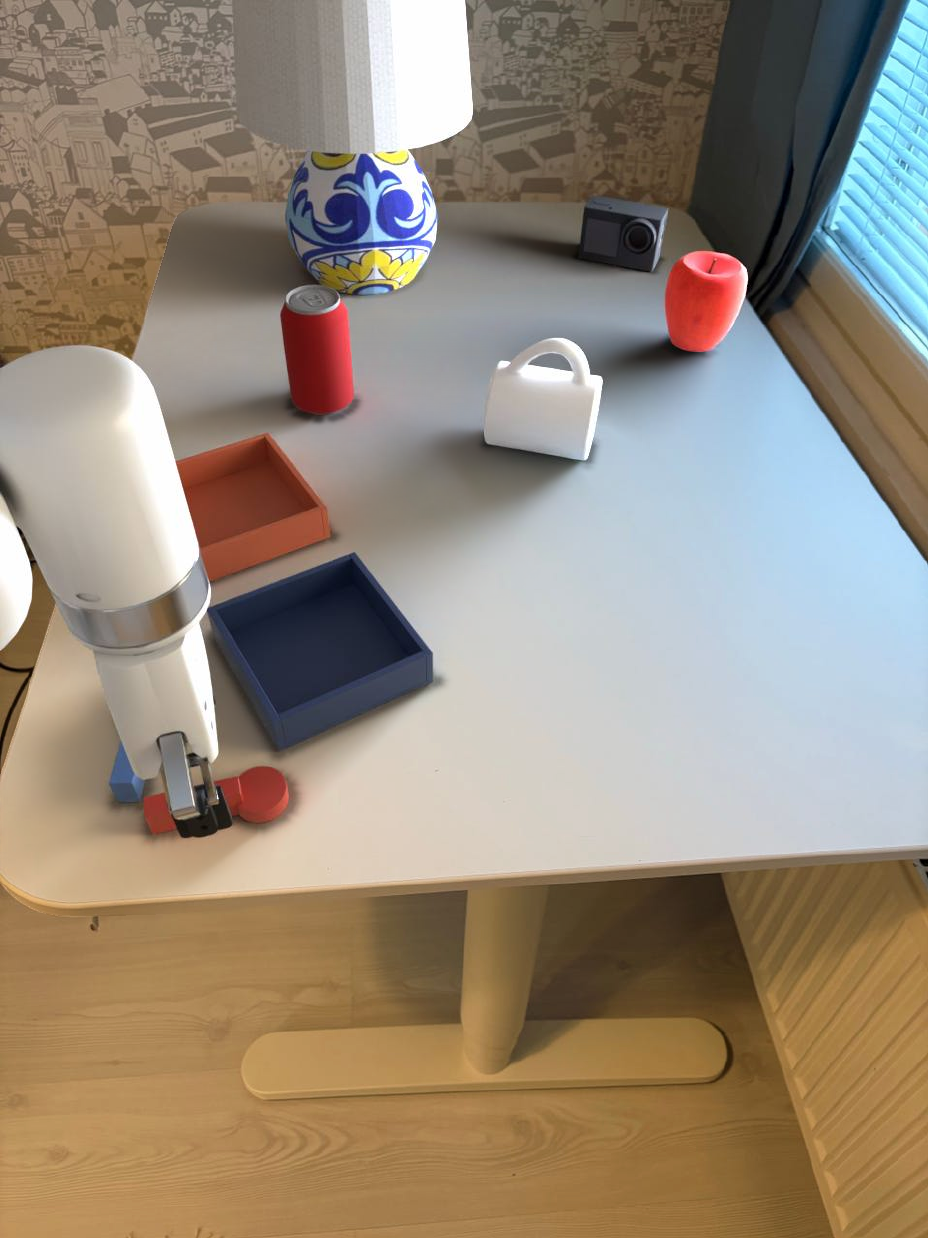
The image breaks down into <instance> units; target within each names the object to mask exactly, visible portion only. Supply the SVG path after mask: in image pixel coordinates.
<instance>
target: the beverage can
mask: <svg viewBox="0 0 928 1238" xmlns="http://www.w3.org/2000/svg"><path fill="white" fill-rule="evenodd" d="M340 296H341V295H340V294H339V292H338V291H336V290H334V289H332V288H330V287H327V286H323V285H322V284H306V285H301V286H298V287H295V288H293V289H291V290H290V291H288V293H286V295H285V298H284V302H283V306H282V308H281V309H280V314H279V315H280V316H279V317H280V327H281V333H282V342H283V349H284V357H285V364H286V371H287V378H288V385H289V391H290V399H291V401H292V403H293V404H294V406H295V407H296V408H298V409H299V410H301V411H303V412H306V413H310V414H312V415H317V416H319V415H320V416H322V415H323V416H324V415H330V414H331V415H332V414H335V413H337V412H339V411H342V410H343V409H344V408H346V407H347V406H349V405H350V404H351V403H352V401H353V399H354V396H355V393H354V392H355V390H354V375H353V360H352V359H353V358H352V346H351V345H352V344H351V334H350V322H349V321H350V320H349V311H348V308H347V307H346V305H345V304H344V302H343V301H342V299H341V297H340Z"/></svg>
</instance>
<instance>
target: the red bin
mask: <svg viewBox="0 0 928 1238" xmlns="http://www.w3.org/2000/svg"><path fill="white" fill-rule="evenodd" d="M175 463H176V466H177V470H178V473H179V477H180V481H181V484H182V488H183V491H184V495H185V498H186V502H187V506H188V509H189V513H190V516H191V520H192V523H193V527H194V530H195V534H196V538H197V541H198V544H199V548H200V551H201V555H202V558H203V562H204V565H205V569H206V573H207V576H208V580H209V583H211V582H213V581H216V580H219V579H221V578H224V577H226V576H229V575H231V574H234V573H237V572H241V571H242V570H245V569H248V568H251V567H254V566H256V565H259V564H261V563H265V562H267V561H270V560H272V559H275V558H278V557H280V556H283V555H287V554H289V553H292V552H294V551H297V550H299V549H302V548H305V547H307V546H311V545H313V544H316V543H318V542H322V541H324V540H326V539H329V538H331V529H330V521H329V512H328V510H329V509H328V506H326V505H325V503H324V502H323V501H322V500H321V498H320V497H319V496H318V494H317V493H316V492H315V491H314V489H313V488H312V487H311V485H310V484H309V482H308V481H307V480H306V479H305V477H304V476H303V475H302V474H301V472H300V471H299V469H297V467H296V466H295V465H294V463H293V462H292V461H291V460H290V458H289V457H288V456H287V455H286V454H285V452H284V451H283V449H282V448H281V447H280V445H279V444H278V443H277V441H276V440H275V439H274V438H273V436H272V435H271V434H270V433H269V432H267V431H266V432H264V433H261V434H257V435H254V436H252V437H248V438H246V439H242V440H239V441H236V442H232V443H229V444H225V445H222V446H220V447H217V448H212V449H210V450H207V451H204V452H200V453H197V454H194V455H191V456H188V457H184V458H182V459H178V460H175Z"/></svg>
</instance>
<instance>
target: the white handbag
mask: <svg viewBox="0 0 928 1238" xmlns="http://www.w3.org/2000/svg"><path fill="white" fill-rule="evenodd" d="M546 354H557V355H560V356H562V357H564V358H565V359H566V360H567V362H568V363H569V364H570V367H571V371H569V370H562V369H557V368H551V367H543V366H537V365H531V364H529V363H531V362H532V361H533V360H534V359H537V358H538V357H540V356H543V355H546ZM602 386H603V378H602V376H600V375H594V374H590V367H589V362H588V360H587V357H586V355H585V354H584V352H583V351H582V349H581V348H580V347H579V346H578V344H576V343H574V342H573V341H571V340H569V339H566V338H562V337H551V338H550V337H549V338H546V339H543V340H540V341H537V342H535V343H534V344H531V345H530V346H528V347H526V348H525V349H524V350H522V351H521V352H520V353H518V354H517V355H516V356H515V357H514V358H513V359H512V360H511V361H506V360H500V361H499V362H498V363H497V364H496V365H495V368H494V370H493V373H492V375H491V379H490V383H489V388H488V393H487V398H486V404H485V410H484V411H485V412H484V420H483V436H484V441H485V443H486V444H487V445H492V446H499V447H503V448H508V449H509V448H510V449H513V450H514V449H515V450H521V451H527V452H532V453H538V454H544V455H551V456H554V457H555V456H556V457H562V458H567V459H572V460H579V461H586V460H587V459H588V457H589V454H590V451H591V447H592V442H593V438H594V434H595V429H596V424H597V419H598V413H599V407H600V401H601V396H602V395H601V394H602Z"/></svg>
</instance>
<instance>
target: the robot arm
mask: <svg viewBox="0 0 928 1238" xmlns="http://www.w3.org/2000/svg"><path fill="white" fill-rule="evenodd" d="M175 461H176V460H175V456H174V453H173V449H172V445H171V441H170V438H169V434H168V430H167V428H166V423H165V420H164V417H163V412H162V409H161V406H160V402H159V400H158V397H157V394H156V391H155V388H154V385H153V383H151V380H150V379H149V378H148V376H147V374H146V373H145V372H144V370H142V368H141V367H140V366H139V365H138V364H136V363H135V362H134V361H133V360H131V359H130V358H129V357H127V356H125V355H123V354H121V353H120V352H117V351H114V350H110V349H108V348H104V347H100V346H93V345H83V344H82V345H81V344H76V345H75V344H74V345H61V346H53V347H48V348H43V349H40V350H36V351H33V352H30V353H28V354H25V355H23V356H20V357H19V358H16V359H13V360H12V361H10V362H8V363H7V364H5V365H3V366H1V367H0V651H2V650H3V649H4V648H6V646H8V644H9V643H10V642H11V641H12V640H13V639H14V638H15V636H16V635H17V634H18V633H19V631H20V630H21V627H22V625H23V624H24V622H25V621H26V619H27V616H28V613H29V609H30V606H31V603H32V599H33V597H32V596H33V573H32V567H31V562H30V559H29V557H28V554H27V551H26V548H25V545H24V541H23V540H22V537H21V535H20V533H19V532H20V531H19V529H20V530H21V532H22V534H23V536H24V538H25V541H26V542H27V545H28V546H29V548H30V551H31V553H32V555H33V557H34V558H35V562H36V563H37V566H38V568H39V570H40V572H41V574H42V576H43V578H44V581H45V583H46V585H47V587H48V589H49V591H50V593H51V596H52V597H53V600H54V602H55V604H56V606H57V609H58V611H59V612H60V615H61V617H62V619H63V621H64V623H65V625H66V627H67V630H68V631H69V633H70V635H71V636H72V638H73V640H75V641H76V642H78V643H79V644H80V645H82V646H83V647H84V648H86V649H89V650H90V651H92V652H93V657H94V661H95V666H96V669H97V673H98V677H99V681H100V684H101V687H102V690H103V693H104V696H105V700H106V703H107V706H108V709H109V712H110V714H111V717H112V720H113V723H114V726H115V729H116V731H117V733H118V736H119V738H120V742H121V741H122V744H123V746H124V749H125V752H126V754H127V757H128V759H129V762H130V765H131V767H132V770H133V772H134V774H135V775H136V776H137V777H139V778H140V779H142V780H145V781H146V780H151V779H157V778H158V775H160V778H161V779H160V780H161V783H162V787H163V788H162V789H163V793H165V796H166V802H167V807H168V809H169V812H170V814H171V816H172V818H173V821H174V823H175V825H176V827H177V829H176V830H177V832H178V834H179V836H180V838H182V839H190V838H197V839H198V838H205V837H210V836H213V835H215V834H216V833H217V832H218V831H222V830H226V829H229V828H231V827H232V826H233V825H234V822H233V816H231V813H230V810H229V807H228V804H227V801H226V798H225V796H224V793H223V790H222V787H221V786H218V785H215V781H216V780H215V777H214V773H213V768H212V763H214V762H215V761H216V759H217V757H218V755H219V742H218V733H217V723H216V712H215V711H216V710H215V706H216V697H215V694H214V690H213V688H212V680H211V678H212V677H211V672H210V665H209V660H208V655H207V651H206V646H205V645H206V644H205V640H204V637H203V633H202V629H201V626H200V622H201V620H202V619H203V617H204V616H205V614H206V613H207V608H208V607H209V605H210V602H211V597H212V596H211V595H212V588H211V584H210V583H211V582H209V580H208V576H207V573H206V569H205V565H204V562H203V558H202V555H201V551H200V548H199V544H198V541H197V538H196V534H195V530H194V527H193V523H192V520H191V516H190V513H189V509H188V506H187V502H186V498H185V495H184V491H183V488H182V484H181V481H180V477H179V473H178V470H177V466H176V463H175ZM18 528H19V529H18ZM187 744H188V746H189V749H190V751H191V752H190V753H188V747H187ZM195 767H199V770H200V773H201V778H202V783H201V784H202V785H200V784H197V785H198V786H196V785H195V783H194V780H193V774H192V768H195Z"/></svg>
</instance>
